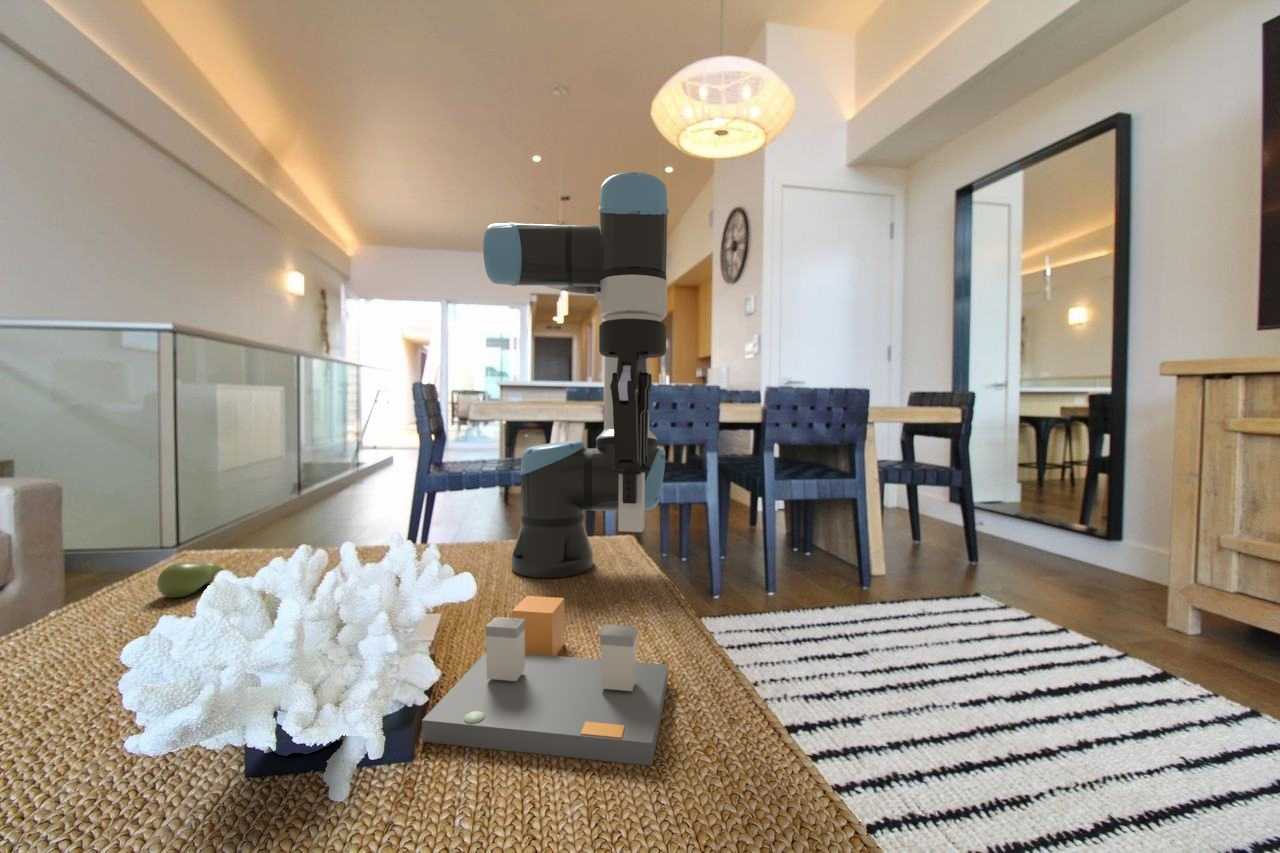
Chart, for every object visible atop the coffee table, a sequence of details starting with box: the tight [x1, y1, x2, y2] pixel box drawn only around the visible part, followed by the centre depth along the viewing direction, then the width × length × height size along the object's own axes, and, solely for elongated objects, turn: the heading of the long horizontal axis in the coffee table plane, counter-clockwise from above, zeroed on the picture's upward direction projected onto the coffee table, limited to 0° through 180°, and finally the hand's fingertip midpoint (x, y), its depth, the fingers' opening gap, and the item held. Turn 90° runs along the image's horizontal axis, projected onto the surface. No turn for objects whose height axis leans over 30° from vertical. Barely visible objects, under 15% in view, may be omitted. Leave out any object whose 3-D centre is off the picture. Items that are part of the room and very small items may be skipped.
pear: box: [156, 561, 225, 599], centre depth 88 cm, size 6×5×10 cm
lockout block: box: [511, 595, 565, 656], centre depth 67 cm, size 5×5×6 cm
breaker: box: [485, 616, 525, 681], centre depth 57 cm, size 2×3×6 cm
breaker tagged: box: [599, 624, 638, 691], centre depth 55 cm, size 2×3×6 cm
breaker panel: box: [421, 652, 669, 767], centre depth 55 cm, size 14×21×2 cm, turn 82°
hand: (631, 529), depth 62 cm, fingers closed
